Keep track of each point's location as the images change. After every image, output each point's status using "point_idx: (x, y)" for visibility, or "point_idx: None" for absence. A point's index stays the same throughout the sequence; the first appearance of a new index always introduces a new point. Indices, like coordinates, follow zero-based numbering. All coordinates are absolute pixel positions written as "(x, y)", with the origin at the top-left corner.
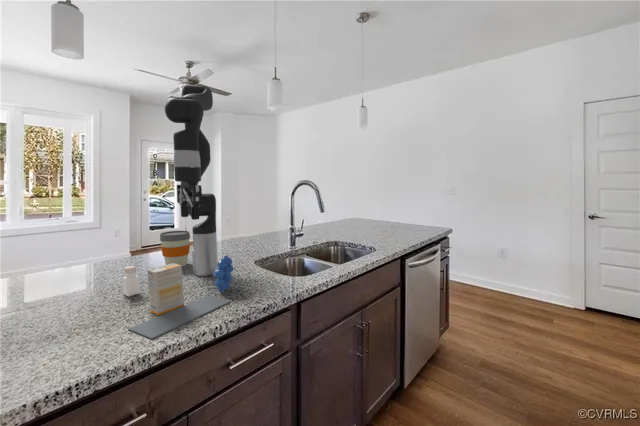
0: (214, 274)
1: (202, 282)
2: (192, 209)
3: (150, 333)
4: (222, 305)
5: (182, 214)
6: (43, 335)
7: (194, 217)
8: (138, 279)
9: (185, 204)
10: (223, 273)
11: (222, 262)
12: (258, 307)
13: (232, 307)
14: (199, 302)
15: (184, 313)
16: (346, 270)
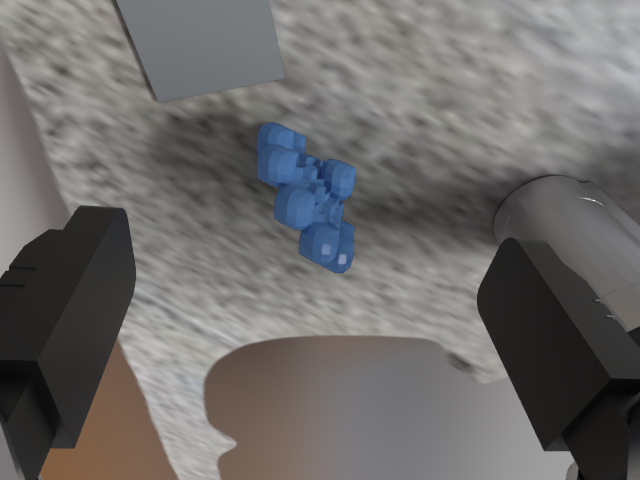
0: (331, 163)
1: (457, 148)
2: (9, 334)
3: None
4: (141, 57)
5: (520, 262)
6: None
7: (43, 237)
8: None
9: (585, 447)
10: (258, 176)
11: (281, 213)
12: (42, 139)
13: (102, 75)
14: (236, 4)
15: None
16: (170, 438)
